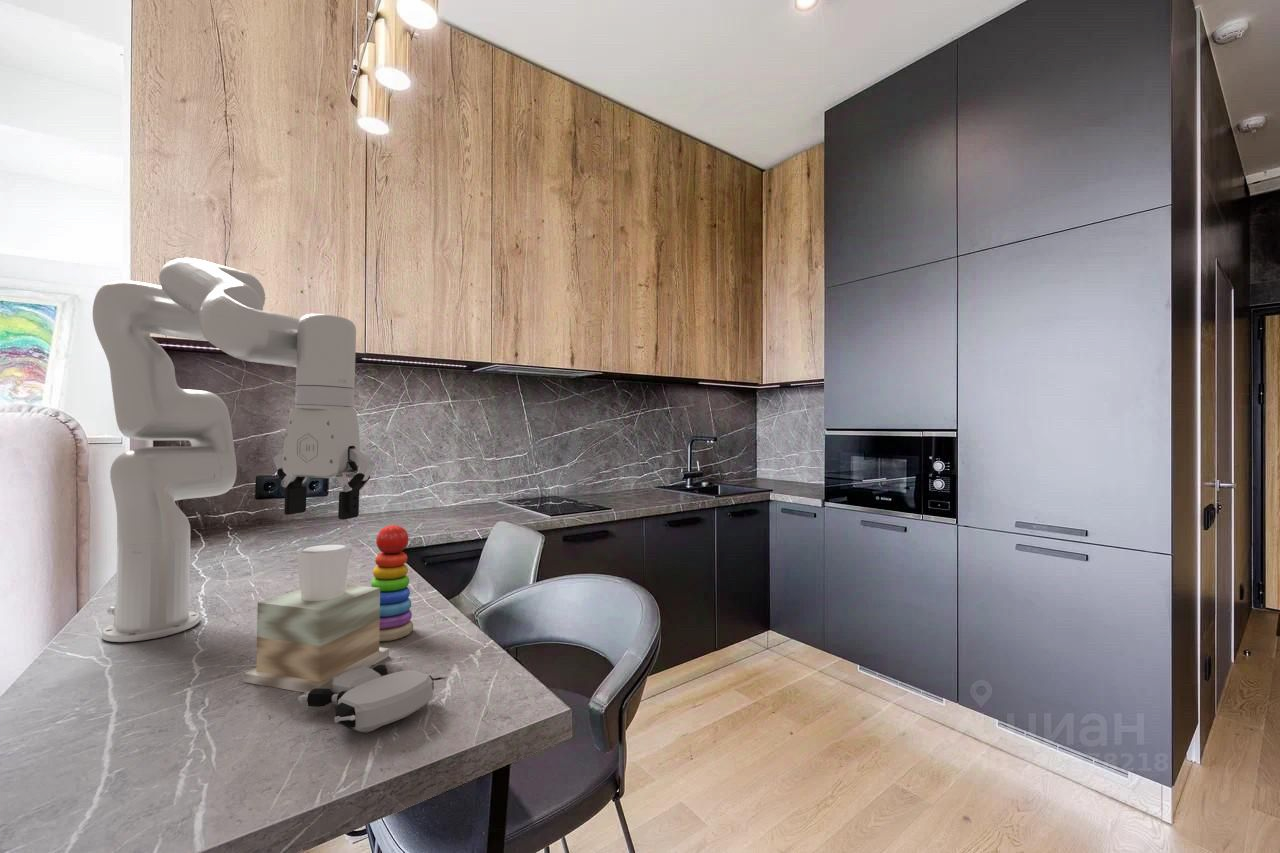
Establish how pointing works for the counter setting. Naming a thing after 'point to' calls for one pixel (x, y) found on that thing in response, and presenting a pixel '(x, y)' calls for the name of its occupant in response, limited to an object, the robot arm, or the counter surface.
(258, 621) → the patterned box
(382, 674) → the robot toy
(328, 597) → the shot glass
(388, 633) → the stacking toy
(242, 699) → the counter surface
